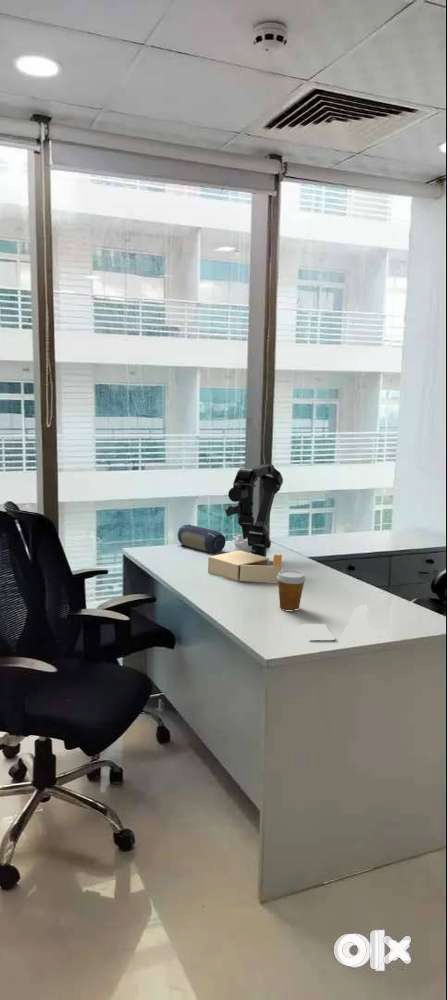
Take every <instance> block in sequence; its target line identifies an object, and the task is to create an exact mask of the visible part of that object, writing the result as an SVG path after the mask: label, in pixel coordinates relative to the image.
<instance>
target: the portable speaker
mask: <svg viewBox="0 0 447 1000" xmlns="http://www.w3.org/2000/svg"><path fill="white" fill-rule="evenodd" d="M177 540H178V541H179V543H180V544H181V545H182V546H184V545H186V546H185V547H188V546H189V547H188V548H192V547H193V548H192V549H195V550H199V549H200V551H204V552H206V553H210V554H211V553H212V554H216V553H220V552H221V551H222V550H224V547H225V546H226V537H225V535H224V534H222V533H221V532H219V531H217V530H214V529H209V528H205V527H201V526H196V525H191V524H183V525H182V526H180V527H179V528H178V531H177Z"/></svg>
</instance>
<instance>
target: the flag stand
mask: <svg viewBox="0 0 447 1000" xmlns="http://www.w3.org/2000/svg"><path fill="white" fill-rule="evenodd" d="M232 542H233V544H234V549H235V551H244V552H248V553H251V550H252V546H248V540H247V538H246V539H243V534H236V535H234V536H233V539H232Z"/></svg>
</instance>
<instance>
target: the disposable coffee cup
mask: <svg viewBox="0 0 447 1000" xmlns="http://www.w3.org/2000/svg"><path fill="white" fill-rule="evenodd" d="M277 579H278V582H277V584H278V598H279V609H280V608H281V609H284V610H295V609H298V608H299V609H300V605H301V604H300V603H301V600H302V595H303V590H304V584H305V581H306V576H305V574H304V573H303V572H300V571H296V570H281V572H279V573H278V576H277ZM281 609H280V610H281ZM284 610H283V611H284Z"/></svg>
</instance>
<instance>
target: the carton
mask: <svg viewBox="0 0 447 1000" xmlns="http://www.w3.org/2000/svg"><path fill="white" fill-rule="evenodd" d="M207 564H208V567H207V573H208V574H211V575H215V576H218V577H221V578H224V579H227V580H230V581H234V582H237V583H238V582H241V581H240V565H258V566H270V557H267V556H266V557H263V556H259V555H255V554H252V553H251V552H245V551H239V550H235V551H230V552H225V553H220V554H215V555H211V556H210V555H209V556H208V563H207Z"/></svg>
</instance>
